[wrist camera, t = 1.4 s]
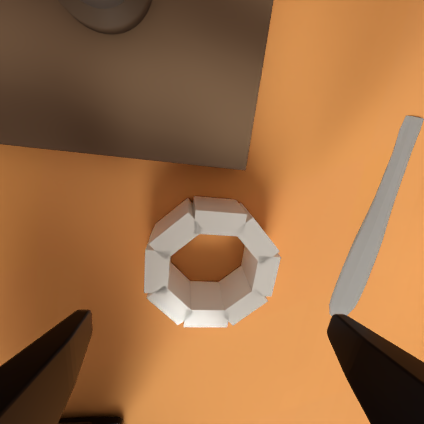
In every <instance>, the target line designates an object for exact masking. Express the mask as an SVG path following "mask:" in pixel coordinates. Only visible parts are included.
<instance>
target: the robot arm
mask: <svg viewBox="0 0 424 424" xmlns="http://www.w3.org/2000/svg"><path fill="white" fill-rule="evenodd" d="M91 335H92V313H91V311H90V310H77V311H75V312H74V313H72V314H71V315H70V316H68V317H67V318H66V319H64V320H63V321H62V322H60V323H59V324H57V325H56V326H55V327H53V328H52V329H51V330H49V331H48V332H47V333H45V334H44V335H42V336H41V337H40V338H38V339H37V340H36V341H34V342H33V343H32V344H30V345H29V346H27V347H26V348H25V349H23V350H22V351H21V352H19V353H18V354H17V355H15V356H14V357H12V358H11V359H10V360H8V361H7V362H6V363H4V364H3V365H2V366H0V424H123V419H122V418H121V417H116V416H115V417H93V418H72V419H60V417H61V415H62V413H63V411H64V408H65V406H66V404H67V402H68V399H69V397H70V395H71V393H72V390H73V388H74V385H75V382H76V380H77V377H78V374H79V371H80V368H81V365H82V362H83V359H84V356H85V353H86V350H87V347H88V344H89V341H90V338H91ZM327 335H328V338H329V340H330V342H331V345H332V347H333V349H334V351H335V354H336V356H337V358H338V361H339V363H340V365H341V367H342V370H343V372H344V374H345V376H346V378H347V380H348V382H349V384H350V386H351V388H352V390H353V392H354V394H355V396H356V397H357V399H358V401H359V403H360V405H361V407H362V409H363V410H364V412H365V414H366V416H367V418H368V420H369V422H370V423H371V424H424V362H422V361H420V360H419V359H417V358H416V357H414V356H412V355H411V354H409V353H407V352H406V351H404V350H402V349H401V348H399V347H398V346H396V345H394V344H393V343H391V342H389V341H388V340H386V339H384V338H383V337H381V336H379V335H378V334H376V333H375V332H373V331H371V330H370V329H368V328H366V327H365V326H363V325H361V324H360V323H358V322H356V321H355V320H353V319H352V318H350V317H348V316H347V315H345V314H334V315H333V316H332V318H331V321H330V323H329V326H328V329H327Z"/></svg>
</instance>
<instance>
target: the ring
mask: <svg viewBox="0 0 424 424" xmlns="http://www.w3.org/2000/svg"><path fill="white" fill-rule="evenodd" d="M199 234H209V235H224V236H237V237H238V238H239V239H240V240H241V241H242V243H243V244H244V245H245V246H244V252H243V257H242V263H241V266H240V267H238V268H237V269H236V270H234V271H233V272H231V273H230V274H229V275H227V276H226V277H225V278H223V279H222V280H221V281H219V282H205V281H190V280H189V279H188V278H187V277H186V276H185V275H184V274H182V273H181V272H180V271H179V270H178V269H177V268H176V267H175V266H174V265H173V264H172V263H171V256H172V255H173V254H174V253H175V252H177V251H178V250H179V249H181V248H182V247H183V246H184V245H186V244H187V243H188V242H190V241H191V240H192V239H194V238H195V237H196V236H197V235H199ZM278 252H280V251H279V250H278V249H277V247H276V246H275V245H274V243H273V242H272V241H271V240H270V238H269V237H268V236H267V235H266V233H265V232H264V231H263V229H262V228H261V227H260V226H259V224H258V223H257V222H256V220H255V219H254V218H253V217H252V215H251V214H250V213H249V212H248V210H247V209H246V208H245V207H244V205H243V204H242V203H238V202H237V200H235V199H223V198H212V197H200V196H194V199H193V203H192V202H191V201H190V199H189V198H187V199H186V200H184V201H183V202H182V203H181V204H179V205H178V206H177V207H176V208H174V209H173V210H172V211H171V212H170V213H168V214H167V215H166V216H165V217H163V218H162V219H161V220H160V221H158V222H157V223H156V224H155V226H154V229H153V230H152V232H151V235H150V238H149V241H148V244H147V247H146V250H145V277H144V293H148V294H147V299H148V300H149V301H150V302H152V303H153V304H154V305H155V306H156V307H157V308H159V309H160V310H161V311H162V312H163V313H164V314H166V315H167V316H168V317H169V318H170V319H172V320H173V321H174V322H175V323H176V324H177V325H179V324H180V323H182V322H183V321H184V327H227V325H228V321H229V322H230V323H231V324H232V325H234V324H236V323H237V322H239V321H240V320H242V319H243V318H244V317H246V316H247V315H249V314H250V313H252V312H253V311H255V310H256V309H257V308H259V307H260V306H262V305H263V304H265V303H266V302H267V301H268V300H267V298H266V296H272V292H273V288H274V284H275V279H276V275H277V271H278V267H279V263H280V259H281V257H280V255H279V254H278Z"/></svg>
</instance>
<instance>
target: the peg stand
mask: <svg viewBox="0 0 424 424" xmlns="http://www.w3.org/2000/svg"><path fill="white" fill-rule="evenodd" d="M272 6H273V0H0V144H4V145H13V146H23V147H32V148H41V149H51V150H60V151H69V152H79V153H88V154H97V155H107V156H116V157H125V158H135V159H144V160H153V161H163V162H172V163H181V164H191V165H200V166H209V167H219V168H228V169H237V170H246V164H247V158H248V152H249V146H250V140H251V134H252V128H253V122H254V116H255V110H256V104H257V97H258V91H259V85H260V79H261V73H262V67H263V61H264V55H265V49H266V43H267V37H268V30H269V24H270V18H271V12H272Z"/></svg>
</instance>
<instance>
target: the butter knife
mask: <svg viewBox="0 0 424 424" xmlns="http://www.w3.org/2000/svg"><path fill="white" fill-rule="evenodd" d="M423 120H424V119H423V118H420V117H414V116H406V117H405V119H404V121H403V124H402V126H401V128H400V131H399V134H398V137H397V141H396V144H395V147H394V150H393V153H392V155H391V158H390V160H389V163H388V165H387V168H386V170H385V173H384V175H383V178H382V180H381V183H380V185H379V188H378V190H377V193H376V196H375V198H374V200H373V202H372V204H371V206H370V208H369V211H368V213H367V215H366V217H365V219H364V221H363V223H362V225H361V227H360V229H359V231H358V233H357V235H356V237H355V240H354V242H353V244H352V247H351V249H350V251H349V254H348V256H347V259H346V261H345V263H344V266H343V268H342V271H341V273H340V275H339V278H338V280H337V283H336V286H335V289H334V291H333V294H332V297H331V300H330V304H329V308H330V315H331V316H333V315H334V314H345V315H348V314H349V313H350V312H351V311H352V310H353V309H354V308H355V306H356V304H357V303H358V301H359V299H360V296H361V294H362V292H363V290H364V288H365V285H366V283H367V280H368V278H369V275H370V273H371V270H372V267H373V265H374V262H375V260H376V257H377V254H378V251H379V249H380V246H381V243H382V240H383V237H384V234H385V230H386V227H387V223H388V220H389V217H390V214H391V210H392V207H393V204H394V201H395V198H396V195H397V192H398V189H399V186H400V184H401V181H402V178H403V175H404V172H405V169H406V166H407V164H408V161H409V158H410V155H411V152H412V150H413V147H414V144H415V142H416V139H417V137H418V134H419V132H420V129H421V126H422V123H423Z"/></svg>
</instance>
